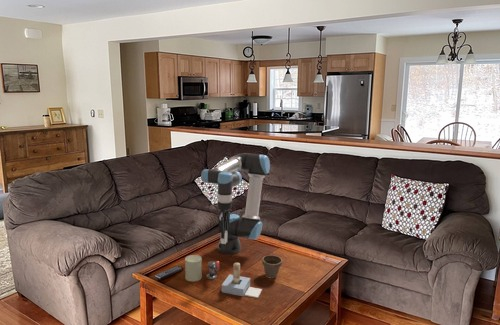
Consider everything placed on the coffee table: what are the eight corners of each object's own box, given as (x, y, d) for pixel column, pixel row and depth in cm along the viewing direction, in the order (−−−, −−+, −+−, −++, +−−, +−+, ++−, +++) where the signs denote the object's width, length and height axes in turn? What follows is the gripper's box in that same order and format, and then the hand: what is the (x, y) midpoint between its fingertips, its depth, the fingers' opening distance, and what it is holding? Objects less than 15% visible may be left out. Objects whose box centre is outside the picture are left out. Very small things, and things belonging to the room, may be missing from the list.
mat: (249, 287, 200) (249, 286, 200) (261, 290, 198) (261, 289, 198) (244, 295, 193) (244, 294, 193) (257, 298, 191) (257, 297, 191)
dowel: (234, 286, 202) (234, 262, 199) (240, 287, 201) (241, 263, 198) (231, 289, 198) (232, 265, 195) (238, 290, 197) (238, 266, 194)
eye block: (229, 280, 207) (229, 274, 206) (250, 284, 203) (250, 278, 203) (221, 292, 195) (221, 285, 195) (243, 296, 192) (243, 289, 191)
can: (193, 283, 203) (193, 263, 201) (181, 277, 208) (181, 257, 206) (205, 276, 210) (205, 257, 208) (193, 271, 216) (193, 252, 213)
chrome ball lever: (213, 263, 212) (213, 254, 211) (221, 271, 204) (221, 261, 203) (206, 265, 210) (206, 255, 209) (214, 273, 202) (214, 263, 200)
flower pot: (285, 278, 212) (286, 261, 210) (267, 282, 206) (268, 265, 204) (274, 269, 222) (275, 253, 220) (257, 272, 216) (258, 256, 214)
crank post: (209, 273, 214) (209, 263, 213) (218, 274, 213) (218, 265, 211) (204, 278, 209) (204, 268, 208) (214, 280, 207) (214, 270, 206)
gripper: (223, 196, 206) (222, 236, 211) (212, 204, 192) (212, 246, 197) (235, 198, 204) (234, 238, 208) (226, 206, 190) (225, 249, 195)
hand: (223, 242), depth 203 cm, fingers open, 1 cm apart
